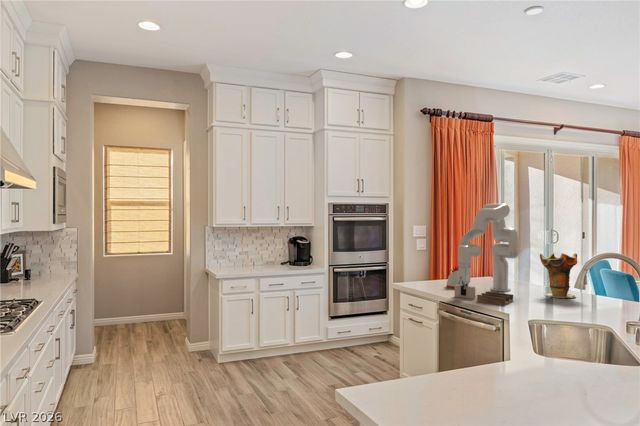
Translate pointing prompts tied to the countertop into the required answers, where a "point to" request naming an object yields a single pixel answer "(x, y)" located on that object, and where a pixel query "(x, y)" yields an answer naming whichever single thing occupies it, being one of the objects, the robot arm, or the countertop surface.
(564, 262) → the decorative vase
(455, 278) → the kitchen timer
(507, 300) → the walnut rack
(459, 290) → the beige rectangular block
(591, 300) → the countertop surface
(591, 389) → the countertop surface
